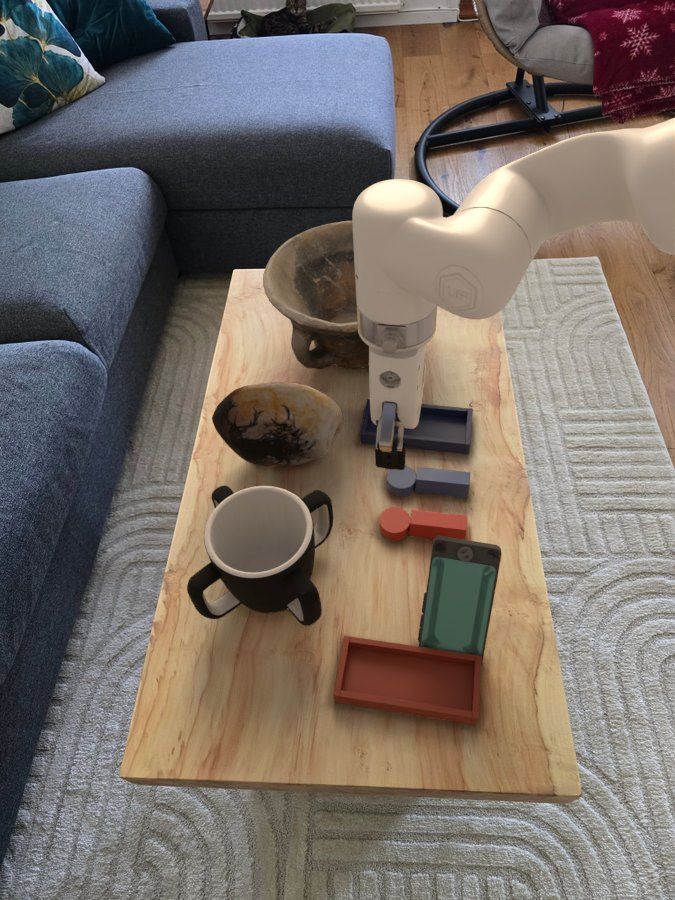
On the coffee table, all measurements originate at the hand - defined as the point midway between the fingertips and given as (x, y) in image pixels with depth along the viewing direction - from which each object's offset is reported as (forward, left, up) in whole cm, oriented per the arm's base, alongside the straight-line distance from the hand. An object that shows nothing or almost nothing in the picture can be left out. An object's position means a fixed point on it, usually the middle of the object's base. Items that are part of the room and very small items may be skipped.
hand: (395, 433), depth 77 cm
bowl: (+11, -33, -16) cm, 38 cm away
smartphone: (-9, +14, -10) cm, 20 cm away
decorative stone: (+17, -7, -16) cm, 24 cm away
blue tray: (-1, -15, -16) cm, 22 cm away
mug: (+14, +12, -16) cm, 25 cm away
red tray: (-4, +22, -16) cm, 28 cm away
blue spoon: (-3, -5, -16) cm, 17 cm away
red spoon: (-3, +2, -16) cm, 17 cm away
